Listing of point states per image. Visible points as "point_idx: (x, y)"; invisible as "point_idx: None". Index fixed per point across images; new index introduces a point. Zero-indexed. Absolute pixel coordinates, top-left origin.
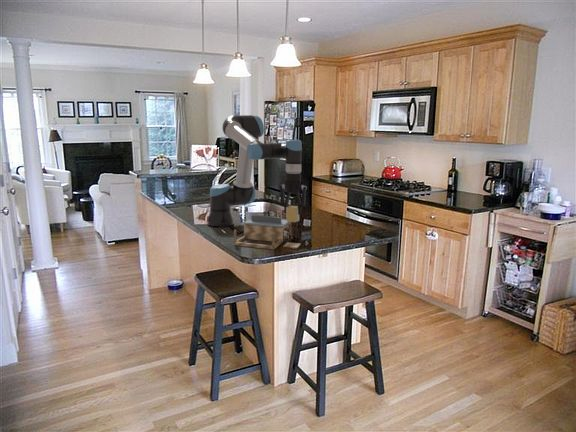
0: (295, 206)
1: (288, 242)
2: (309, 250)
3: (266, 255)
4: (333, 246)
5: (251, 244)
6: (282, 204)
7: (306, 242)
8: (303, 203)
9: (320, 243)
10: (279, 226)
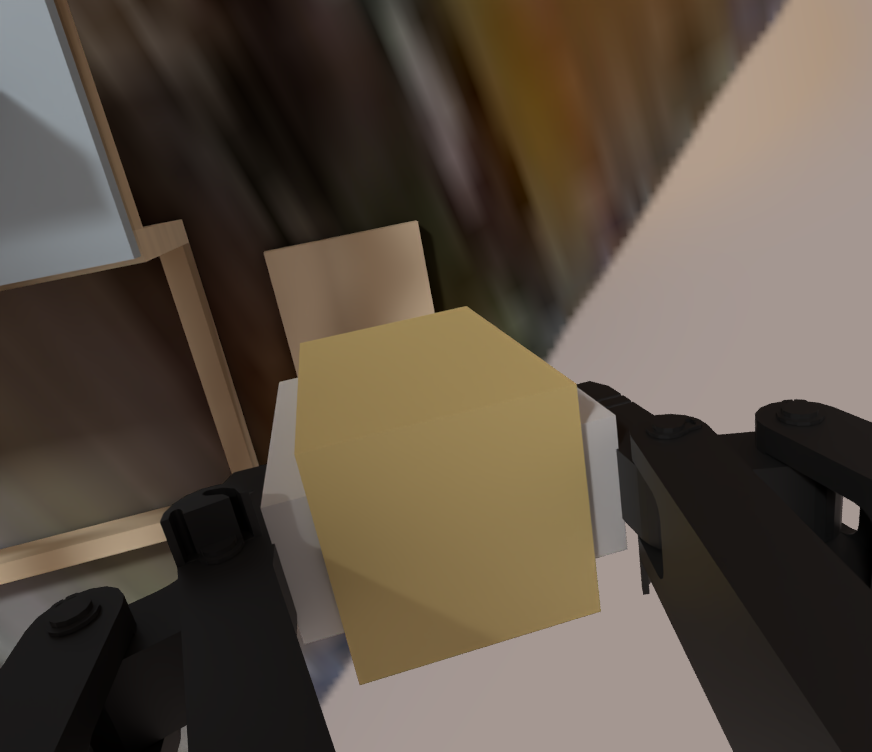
0: (504, 452)
1: (278, 253)
2: (557, 334)
3: (307, 644)
4: (718, 81)
5: (14, 578)
6: (166, 736)
7: (421, 78)
8: (869, 582)
9: (571, 35)
10: (80, 267)
